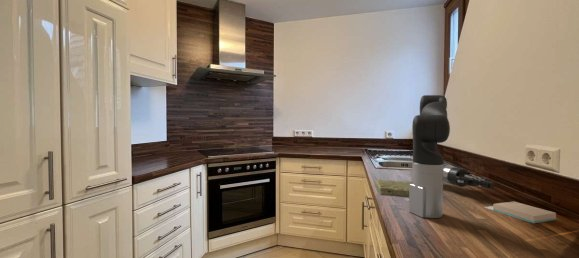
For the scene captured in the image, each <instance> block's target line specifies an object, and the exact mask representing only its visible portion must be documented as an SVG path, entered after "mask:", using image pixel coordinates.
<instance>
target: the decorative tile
mask: <svg viewBox="0 0 579 258" xmlns="http://www.w3.org/2000/svg"><path fill="white" fill-rule="evenodd" d="M410 184H412V181H407V180H405V181H404V180H383V179H376V180H374V187H375V188H377V189H376V191H377V192H378V194H379V195H380V196H383V195H384V196H396V197H406V198H409V190H410Z"/></svg>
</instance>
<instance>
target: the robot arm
mask: <svg viewBox="0 0 579 258" xmlns="http://www.w3.org/2000/svg"><path fill="white" fill-rule="evenodd" d="M447 109H448V101H447V98H446V97H445V95H442V94H424V95H423V96H421V97H420V101H419V114H417V115H415V116H414V117H413V120H412V125H411V126H412V128H411V129H412V167H411V168H412V171H411V174H412V175H411V176H412V178H411V182H412V184H410V190H409V197H408V198H409V200H408V204H409V205H408V208H409V209H408V211H409V213H411V214H414V215H416V216H417V217H420V218H429V219H438V218H439V219H440V218H441V217H443V200H444V199H443V198H444V197H443V195H444V182H445V183H447V184H450V185H454V186H456V187H460V188H463V187H466V186H467V187H468V186H469V187H470V186H471V187H480V188H481V187H482V188H486V189H490V190H491V189H494V188H495V184H494V182H492V181H488V178H487V177H486V176H476V175H475V174H471V173H470V172H469V171H468V170H467V169H465V168H461V167H456V166H453V165H446V164H444V162H445V160H444V159H445V158H444V156H443V155H442V154H440V153H438V152H437V151H438V149H437V148H438V144H441V143H444V142H446V141H448V138H449V136H450V133H451V128H450V127H451V125H450V121H449V119H448V110H447Z"/></svg>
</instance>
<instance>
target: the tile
mask: <svg viewBox="0 0 579 258" xmlns="http://www.w3.org/2000/svg"><path fill="white" fill-rule="evenodd" d="M492 206H493V210H492V211H494V212H498V213H500V214H503V215H506V216H509V215H510V217H512V216H513V218H515V217H516V219H518V218H519V219H518V220H521V219H522V221H525V222H528V223H532V224H538V223H544V222H550V221H551V222H552V221H555V220H556V219H557V212H554V211H551V210H546V209H543V208H539V207H536V206H531V205H528V204H525V203H521V202H518V201H506V202H497V203H493V204H492Z"/></svg>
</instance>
